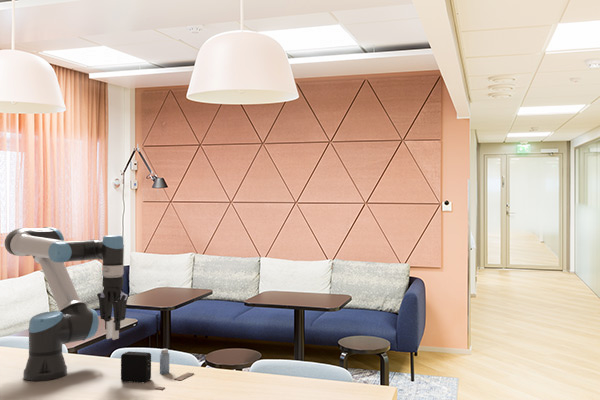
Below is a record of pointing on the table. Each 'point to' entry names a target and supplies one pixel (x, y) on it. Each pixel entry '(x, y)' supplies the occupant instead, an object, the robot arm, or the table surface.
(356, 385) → the table surface
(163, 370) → the marker peg
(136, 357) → the electronic device
